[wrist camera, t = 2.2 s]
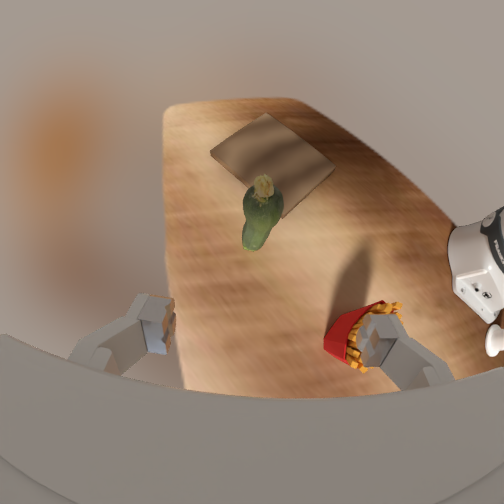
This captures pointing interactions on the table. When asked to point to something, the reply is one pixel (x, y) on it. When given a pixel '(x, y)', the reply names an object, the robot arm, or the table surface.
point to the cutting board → (274, 159)
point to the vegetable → (261, 212)
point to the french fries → (354, 333)
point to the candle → (494, 340)
